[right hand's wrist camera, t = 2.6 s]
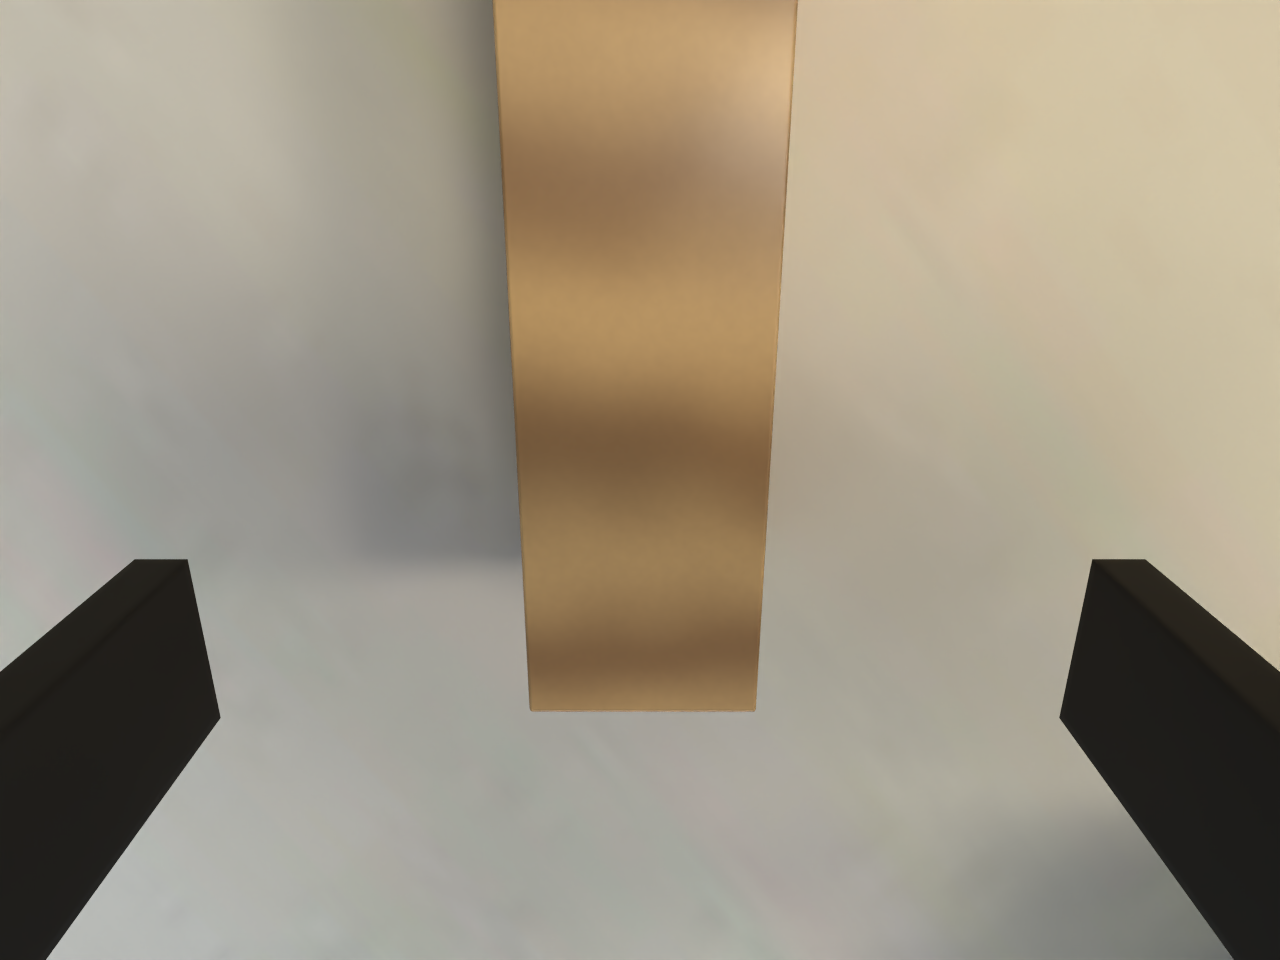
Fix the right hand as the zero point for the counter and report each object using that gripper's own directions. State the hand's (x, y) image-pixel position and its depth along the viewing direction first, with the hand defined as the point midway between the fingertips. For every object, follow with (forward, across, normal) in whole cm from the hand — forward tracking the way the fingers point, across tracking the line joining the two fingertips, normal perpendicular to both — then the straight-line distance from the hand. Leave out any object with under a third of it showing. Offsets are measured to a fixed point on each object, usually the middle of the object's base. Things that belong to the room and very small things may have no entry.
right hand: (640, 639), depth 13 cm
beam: (+16, 0, -28) cm, 32 cm away
